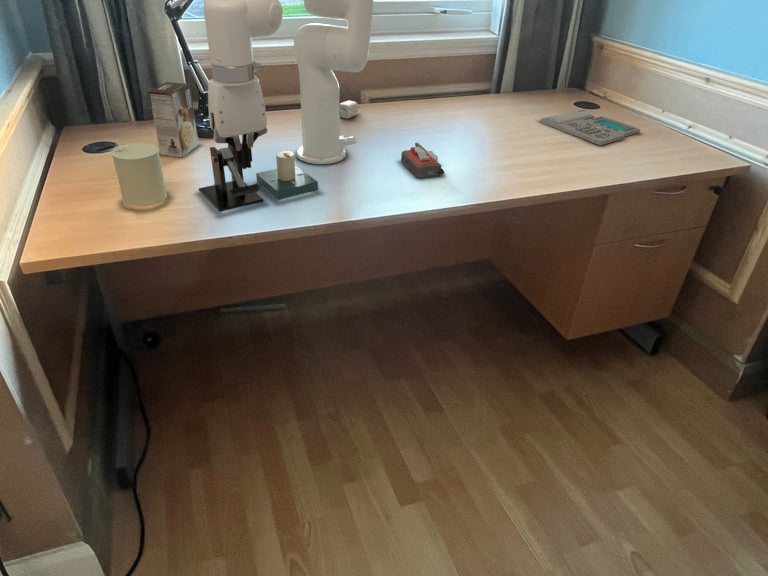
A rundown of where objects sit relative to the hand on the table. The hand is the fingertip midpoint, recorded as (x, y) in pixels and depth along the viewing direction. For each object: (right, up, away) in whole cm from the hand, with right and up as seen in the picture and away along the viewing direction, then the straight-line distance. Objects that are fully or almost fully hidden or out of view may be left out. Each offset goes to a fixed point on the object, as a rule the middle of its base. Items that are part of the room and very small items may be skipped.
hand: (244, 165), depth 117 cm
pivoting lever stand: (-6, -5, +12) cm, 14 cm away
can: (-24, -6, +10) cm, 26 cm away
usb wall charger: (+18, +29, +63) cm, 71 cm away
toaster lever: (-4, -1, +6) cm, 7 cm away
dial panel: (+6, -2, +17) cm, 18 cm away
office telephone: (+91, +24, +61) cm, 112 cm away
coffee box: (-25, +11, +34) cm, 44 cm away
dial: (+6, +1, +16) cm, 17 cm away
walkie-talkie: (+37, +7, +33) cm, 50 cm away
